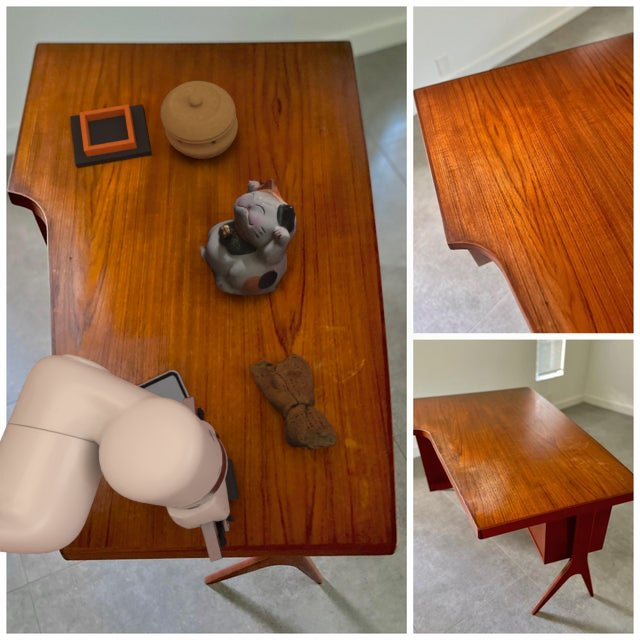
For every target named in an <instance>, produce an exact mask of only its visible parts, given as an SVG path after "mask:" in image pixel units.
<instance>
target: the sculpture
mask: <svg viewBox="0 0 640 640" xmlns="http://www.w3.org/2000/svg"><path fill="white" fill-rule="evenodd" d="M248 370H249V373H250V375H251V376H252V377H253V378H254V381H255V383H256V387H258V389H259V390H260V391H261V392H262V393H263V396H264V397H265V399H266V400H267V401H268V403H269V404H270V405H271V406H272V407H273V408H274V409H275V410H277V411H278V412H279V413H280V414H281V415H282V417H283V419H284V420H285V422H284V423H285V436H284V439H285V442H286V443H287V444H288V445H289V447H291V448H295V449H296V448H297V449H302V448H305V449H306V450H309V451H313V450H317V449H320V448H330V447H333V446H335V445H336V443H337V441H338V436H337V433H336V431H335V430H334V427H333V425H332V424H331V423H330V422H329V420H328V418H327V417H326V415H324V413H323V412H321V411H320V410H318V409H317V408H315V407H314V405H315V395H314V374H313V372H312V370H311V367H310V365H309V364H308V362H307V361H306V359H305V358H304V357H302V356H301V355H298V354H297V353H292V354H291V355H289V356H288V357H286V358H285V359H283V360H280V361H278V363H275V366H274V364H272V363H271V362H270V361H269V360H267V359H265V360H261V361H260V362H259V363H256V364H253V363H251V364H249V366H248Z"/></svg>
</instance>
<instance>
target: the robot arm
mask: <svg viewBox="0 0 640 640" xmlns="http://www.w3.org/2000/svg"><path fill="white" fill-rule="evenodd" d="M183 403H184V405H183V404H182V403H180V402H178V401H176V400H173V399H170V398H165V397H161V396H158V395H156V394H154V393H151V392H149V391H147V390H145V389H143V388H140V387H138V385H136V384H133V383H132V382H129V381H127V380H126V379H122V378H121V377H120V376H117V375H114V374H112V372H111V371H109V370H108V369H107V367H104V366H103V365H102V364H100V363H98V362H95V361H94V360H91V359H88V358H86V357H83V356H80V355H77V354H70V353H65V354H64V353H63V354H61V355H60V354H51V355H47V356H44V357H42V358H40V359H39V360H37V361H36V362H35V363H34V365H32V367H31V369H30V371H29V372H28V374H27V376H26V378H25V380H24V383H23V385H22V387H21V389H20V392H19V394H18V397H17V399H16V402H15V404H14V407H13V409H12V411H11V414H10V417H9V420H8V422H7V424H6V426H5V429H4V430H3V433H2V436H1V438H0V553H9V554H18V555H19V554H20V555H43V554H49V553H53V552H57V551H60V550H62V549H63V548H66V547H67V546H69V545H70V544H71V543H72V542H74V540H75V539H76V538H77V537H79V535H80V533H82V532H81V531H83V528H84V526H85V524H86V521H87V519H88V516H89V515H90V514H89V513H90V511H91V508H92V507H93V503H94V501H95V497H96V494H97V491H98V489H99V486H100V482H101V480H102V476H103V477H104V479H105V481H106V482H107V484H108V485H109V486H110V487H111V489H113V490H114V492H116V493H117V494H119V495H120V496H122V497H124V498H126V499H127V500H128V499H129V500H131V501H134V502H138V503H143V504H149V505H154V506H160V507H166V510H167V513H168V515H169V516H170V518H171V520H172V521H173V522H174V523H175V524H176V525H178V526H180V527H182V528H185V529H187V530H190V529H197V528H200V529H201V531H202V534H203V539H204V542H205V546H206V550H207V555H208V557H209V558H208V559H209V562H210V563H212V562H215V561H219V560H223V559H224V548H226V546H227V544H228V541H227V537H226V532H231V527H230V524H231V523H234V522H236V520H235V516H234V515H233V514H230V513H231V510H230V504H229V502H230V501H228V495H227V488H226V482H225V477H226V473H227V465H228V463H227V457H228V456H227V451H226V448H225V446H224V444H223V443H222V441H221V438H220V435H219V433H217V431H216V430H215V429H214V427H213V426H212V423H211V421H206V419H205V417H204V416H205V412H204V409H202V408H201V407H199V404H198V402H197V400H196V396H195V395H192V396H190V397H187V398H183Z"/></svg>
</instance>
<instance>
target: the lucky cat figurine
mask: <svg viewBox="0 0 640 640" xmlns="http://www.w3.org/2000/svg"><path fill="white" fill-rule="evenodd" d="M232 208H233V216H234V218H233V219H228V220H224V221H221V222H218V223H216V224H215V225H214V226H213V227H211V229H210V230H209V231H208V233H207V243H206V245H205V246H204V245H200V246H199V250H200V256H201V258H202V260H204V262H206V263H207V264H208V266H209V268H210V270H211V274H212V276H213V280H214V284H215V286H216V287H217V288H218V289H220V290H221V291H222V292H225V293H228V294H230V295H237V296H261V295H265V294H268V293H272V292H274V291H277V289H278V287H279V283H280V281H281V279H282V278H283V277H284V275H285V274H286V271H287V270H288V253H287V248H288V245H289V243H290V242H291V240H292V239H293V238H294V236H295V234H296V231H297V215H296V211H295V206H294V205H290V204H288V203H287V202H286V201H284V199H283V198H282V196H281V193H280V191H279V189H278V185H277V183H276V181H275V180H274V179H273V178H270V179H268V180H266V181H265V182H261V181H257V180H248V184H247V191H246V193H244V194H242V195H241V196H239V197H238V198H237V199H235V200H234V203H233V205H232Z"/></svg>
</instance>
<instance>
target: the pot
mask: <svg viewBox="0 0 640 640" xmlns="http://www.w3.org/2000/svg"><path fill="white" fill-rule="evenodd" d="M160 119H161V123H162V126H163V129H164V132H165V133H164V134H165V137H166V139H167V140H168V143H170V145H171V146H172V147H173V148H174V149H175V150H177V151H178V152H179V153H181V154H182V155H184V156H187V157H190V158H192V159H198V160H208V159H211V158H215V157H218V156H220V155H221V154H223V153H224V152H226V151H227V150H228V149H229V147H231V146H232V145H233V142H234V140H235V138H236V137H237V133H238V129H239V121H238V117H237V109H236V105H235V103H234V99H233V98H232V97H231V95H230V94H229V93H228V92H227V91H226V90H225V89H224V88H222V87H221V86H219V85H217V84H215V83H212V82H210V81H204V80H191V81H187V82H183V83H180V84H179V85H177V86H175V87H174V88H173V89H171V91H169V92H168V93H167V95H166V96H165V97H164V100H163V101H162V103H161V107H160Z"/></svg>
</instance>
